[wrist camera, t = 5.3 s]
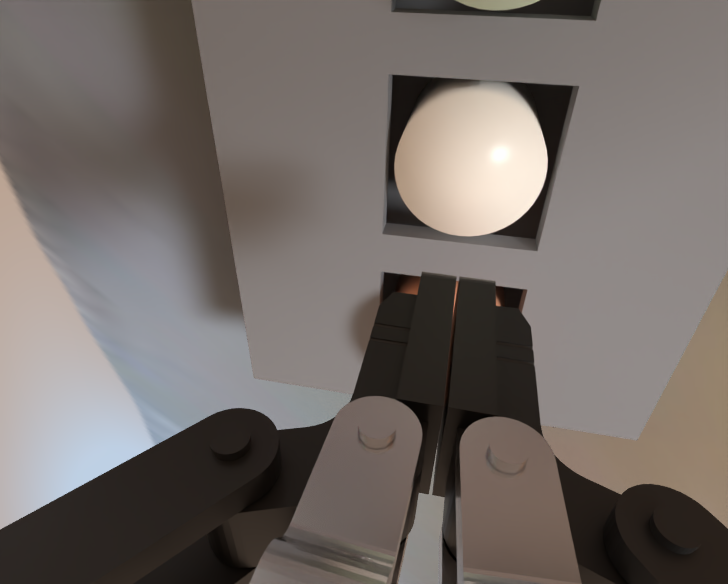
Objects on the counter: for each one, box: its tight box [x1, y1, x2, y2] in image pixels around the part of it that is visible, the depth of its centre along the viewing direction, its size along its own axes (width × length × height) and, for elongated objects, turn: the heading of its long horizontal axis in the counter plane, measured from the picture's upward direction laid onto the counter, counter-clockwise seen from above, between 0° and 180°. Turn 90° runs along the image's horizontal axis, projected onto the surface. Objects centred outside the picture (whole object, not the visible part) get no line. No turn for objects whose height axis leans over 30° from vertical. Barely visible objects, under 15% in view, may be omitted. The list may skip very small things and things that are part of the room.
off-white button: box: [394, 77, 548, 236], centre depth 16 cm, size 4×4×4 cm
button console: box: [191, 0, 728, 440], centre depth 17 cm, size 16×21×5 cm
